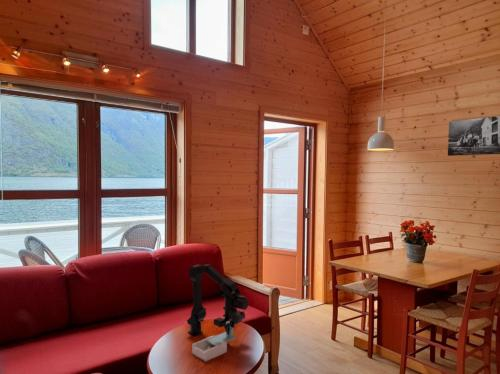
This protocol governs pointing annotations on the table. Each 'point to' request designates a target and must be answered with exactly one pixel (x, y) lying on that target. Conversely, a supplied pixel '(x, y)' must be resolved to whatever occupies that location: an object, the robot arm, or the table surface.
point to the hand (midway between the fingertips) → (229, 333)
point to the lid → (222, 338)
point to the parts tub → (208, 349)
